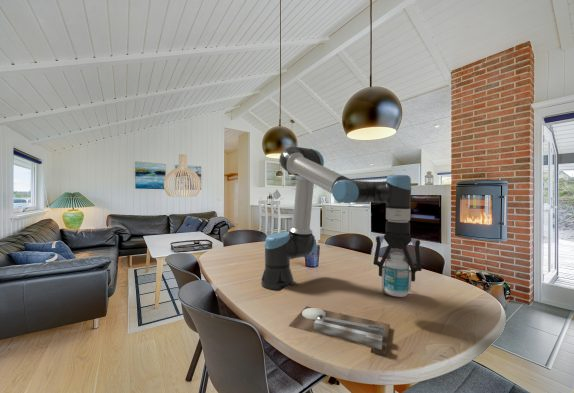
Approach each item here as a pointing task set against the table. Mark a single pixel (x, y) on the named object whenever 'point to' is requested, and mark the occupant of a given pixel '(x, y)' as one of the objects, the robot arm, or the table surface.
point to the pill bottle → (396, 275)
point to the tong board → (329, 314)
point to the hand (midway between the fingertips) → (396, 287)
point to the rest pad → (312, 313)
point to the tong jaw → (353, 325)
